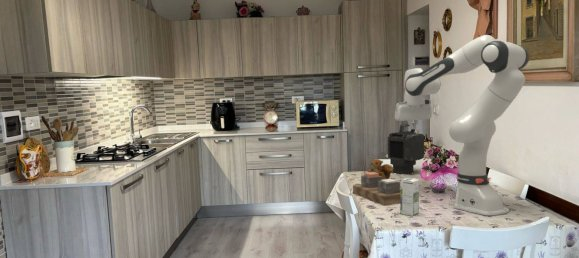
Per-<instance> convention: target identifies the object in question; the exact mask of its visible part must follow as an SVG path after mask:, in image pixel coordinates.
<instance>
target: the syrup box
mask: <svg viewBox="0 0 579 258" xmlns="http://www.w3.org/2000/svg"><path fill="white" fill-rule="evenodd" d="M400 190H401V195H400V203H399V205H400V206H399V208H400V209H399V214H400V215H404V216H410V217H413V216H416V215H417V214H419V210H420V209H419V207H420V206H419V205H420V179H418V178H413V177H406V178H402V179H401V180H400Z"/></svg>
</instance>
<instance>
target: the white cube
mask: <svg viewBox="0 0 579 258" xmlns="http://www.w3.org/2000/svg"><path fill="white" fill-rule="evenodd" d="M381 181H382V182H385V183H394V182H397V181H398V180H395V179H393V178H389V179H385V180H381Z"/></svg>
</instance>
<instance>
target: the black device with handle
mask: <svg viewBox="0 0 579 258" xmlns="http://www.w3.org/2000/svg"><path fill="white" fill-rule="evenodd" d="M412 125H414V122H412ZM407 127H410V126H409V124H408V123H402V124H400V126H399V131H397V132H391V133H389V134H388V136H387V159H389V160H390V161H389V162H390V164H389V165H391V166H392V167H393V168H394V169H393V172H392V174H394V173H396V174H395V175H401V174H408V175H412V173H413V174H414V166H417V161H420V160H423V159H424V158H425V134H423V133H420V131H421V129H419V128H417V129H410V131H409V130H405V128H407ZM404 130H405V131H404ZM416 131H417V132H416Z"/></svg>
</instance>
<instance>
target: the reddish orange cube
mask: <svg viewBox="0 0 579 258" xmlns="http://www.w3.org/2000/svg"><path fill="white" fill-rule="evenodd" d="M363 175H364V176H366V177H369V178H372V177H379V174H378V173H375V172H368V171H367V172H364V174H363Z"/></svg>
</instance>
